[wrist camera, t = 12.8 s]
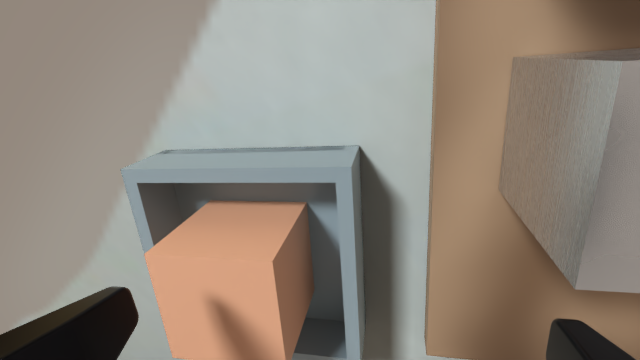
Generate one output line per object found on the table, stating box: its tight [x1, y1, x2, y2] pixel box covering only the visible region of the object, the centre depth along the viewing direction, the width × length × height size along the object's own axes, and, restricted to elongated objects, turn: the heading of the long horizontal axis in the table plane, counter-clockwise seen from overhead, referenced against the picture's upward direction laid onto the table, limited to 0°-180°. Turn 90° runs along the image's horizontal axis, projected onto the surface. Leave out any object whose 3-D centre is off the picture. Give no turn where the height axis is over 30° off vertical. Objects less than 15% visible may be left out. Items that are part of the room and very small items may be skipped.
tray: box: [121, 146, 366, 360], centre depth 13 cm, size 8×8×2 cm
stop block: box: [144, 200, 314, 360], centre depth 12 cm, size 4×4×4 cm
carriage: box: [499, 48, 640, 293], centre depth 8 cm, size 4×4×5 cm
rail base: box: [425, 0, 640, 360], centre depth 8 cm, size 8×17×6 cm, turn 4°
